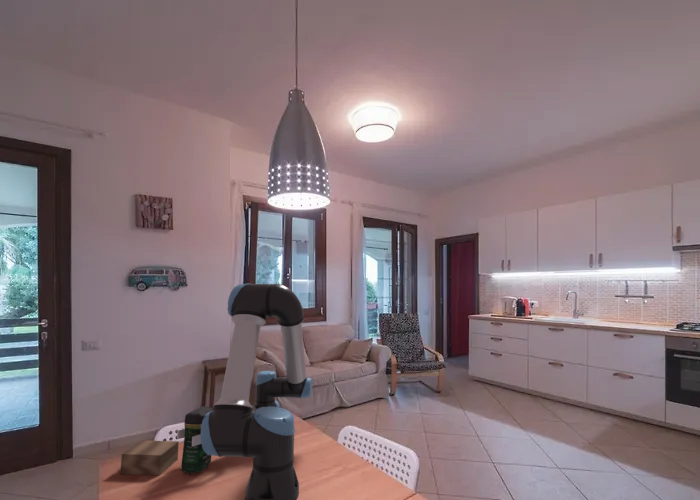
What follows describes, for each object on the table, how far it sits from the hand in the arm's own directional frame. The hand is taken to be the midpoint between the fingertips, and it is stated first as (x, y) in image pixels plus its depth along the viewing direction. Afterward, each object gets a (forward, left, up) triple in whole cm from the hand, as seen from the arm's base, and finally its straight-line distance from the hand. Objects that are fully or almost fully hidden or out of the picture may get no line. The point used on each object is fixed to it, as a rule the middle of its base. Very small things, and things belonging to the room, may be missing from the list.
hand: (185, 438), depth 119 cm
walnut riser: (+13, +6, -11) cm, 18 cm away
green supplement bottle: (+1, -5, -11) cm, 12 cm away
